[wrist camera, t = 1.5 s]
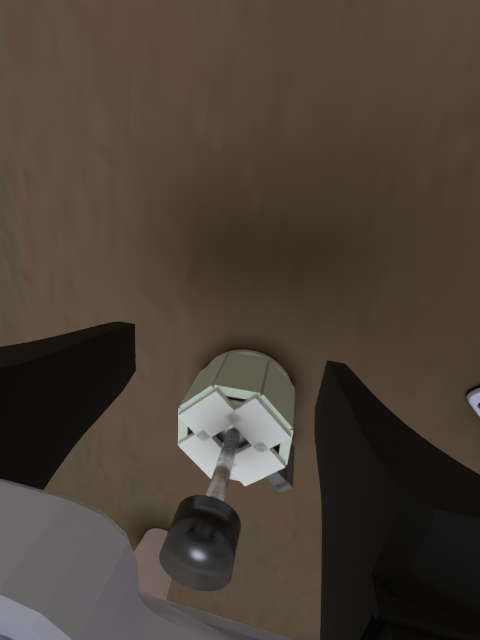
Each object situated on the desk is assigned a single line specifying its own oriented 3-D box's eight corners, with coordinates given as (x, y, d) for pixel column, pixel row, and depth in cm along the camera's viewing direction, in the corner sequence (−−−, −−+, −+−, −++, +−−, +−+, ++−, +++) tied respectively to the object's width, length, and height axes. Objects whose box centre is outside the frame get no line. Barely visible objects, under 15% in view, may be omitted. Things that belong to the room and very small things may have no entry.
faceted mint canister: (327, 420, 24) (333, 479, 19) (255, 456, 26) (244, 517, 21) (252, 331, 22) (237, 370, 17) (183, 379, 25) (153, 425, 20)
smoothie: (158, 567, 34) (72, 790, 21) (120, 527, 33) (3, 740, 20) (204, 554, 32) (137, 794, 19) (165, 511, 31) (65, 738, 18)
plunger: (291, 443, 19) (283, 589, 12) (230, 474, 21) (192, 616, 14) (238, 384, 18) (197, 504, 11) (180, 421, 20) (112, 545, 13)
